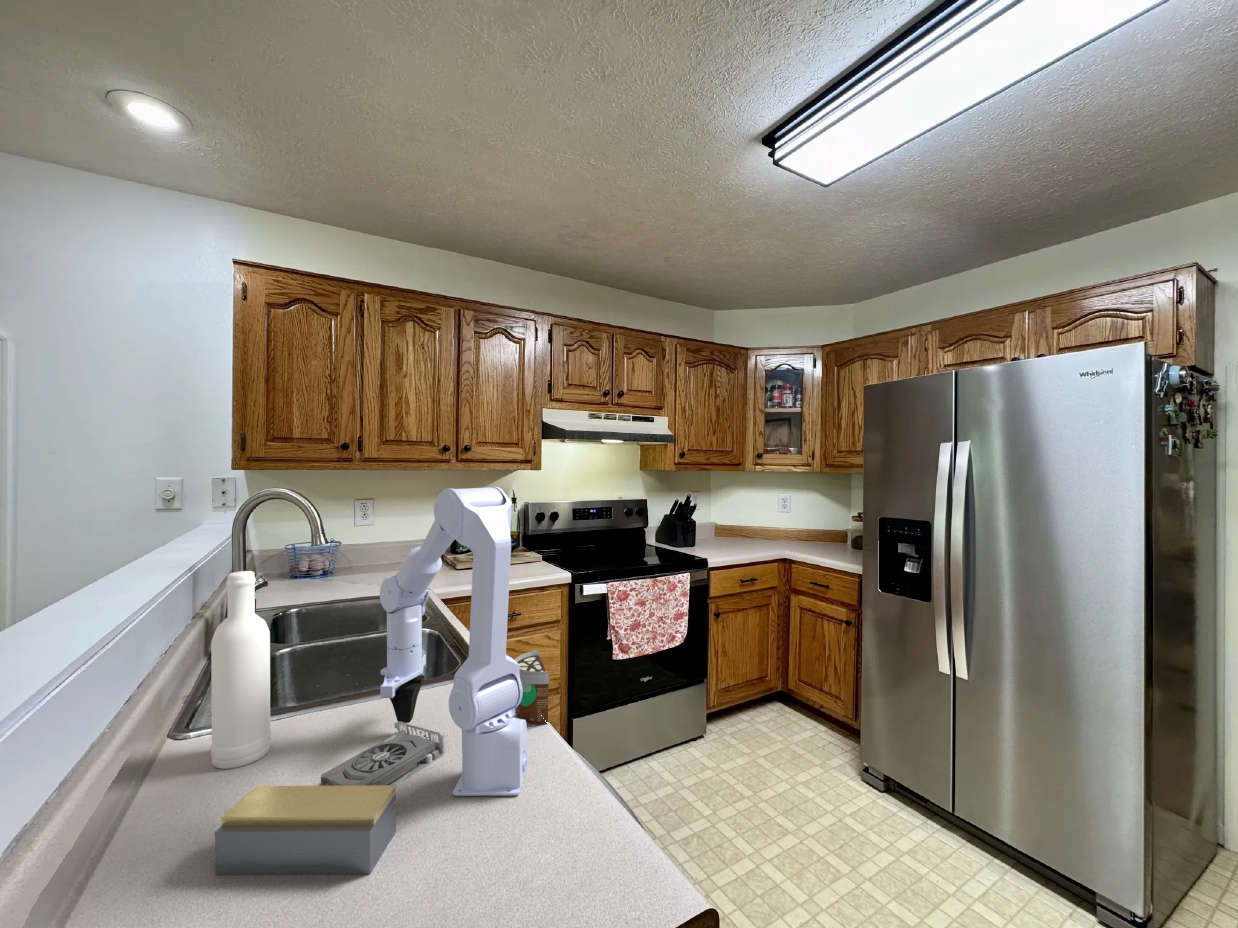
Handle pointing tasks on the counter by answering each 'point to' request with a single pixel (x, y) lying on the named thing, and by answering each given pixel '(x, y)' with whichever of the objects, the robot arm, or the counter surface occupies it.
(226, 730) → the bottle
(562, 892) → the counter surface
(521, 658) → the food container
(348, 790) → the grey flat box
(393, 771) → the graphics card
